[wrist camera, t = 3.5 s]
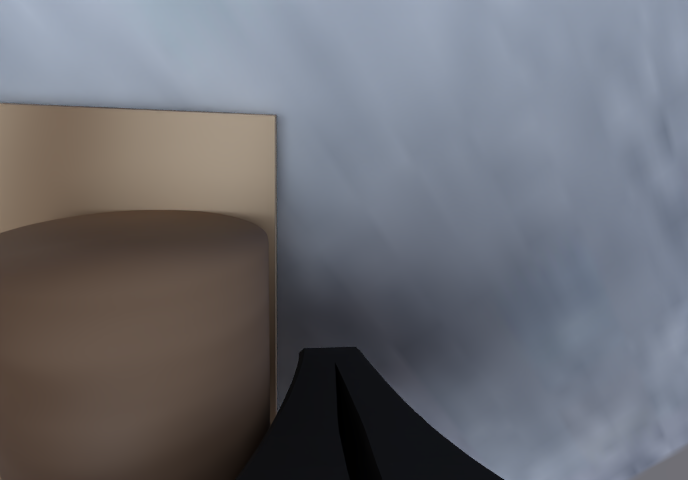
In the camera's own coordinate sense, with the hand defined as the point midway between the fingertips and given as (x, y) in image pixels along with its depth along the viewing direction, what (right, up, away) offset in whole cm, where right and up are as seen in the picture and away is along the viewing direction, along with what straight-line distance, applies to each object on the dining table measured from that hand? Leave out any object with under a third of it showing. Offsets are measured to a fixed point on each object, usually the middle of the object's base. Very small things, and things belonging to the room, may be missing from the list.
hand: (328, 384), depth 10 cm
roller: (-3, 0, -2) cm, 4 cm away
